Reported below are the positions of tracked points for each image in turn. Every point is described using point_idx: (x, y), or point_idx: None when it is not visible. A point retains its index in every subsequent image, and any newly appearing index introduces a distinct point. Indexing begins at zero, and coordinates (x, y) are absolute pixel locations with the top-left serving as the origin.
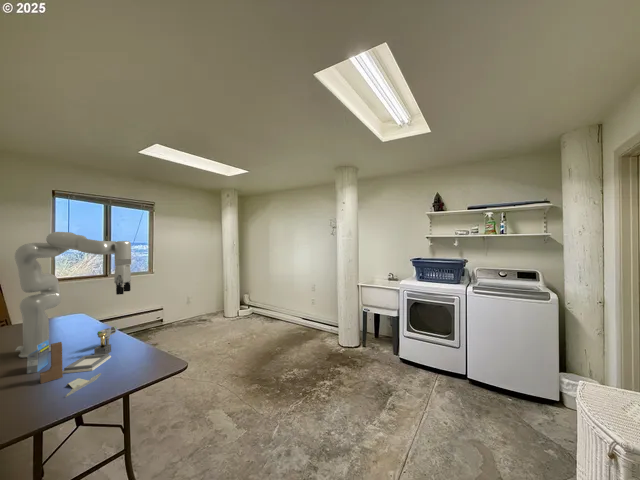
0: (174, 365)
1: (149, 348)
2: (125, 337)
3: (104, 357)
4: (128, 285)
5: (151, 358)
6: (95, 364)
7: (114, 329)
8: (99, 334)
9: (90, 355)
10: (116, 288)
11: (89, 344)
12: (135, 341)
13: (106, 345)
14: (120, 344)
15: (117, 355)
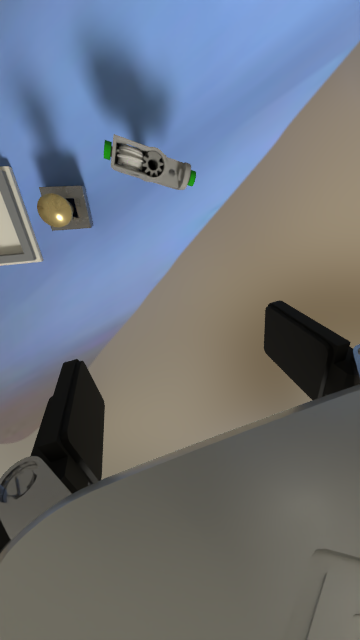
0: (12, 431)
1: (113, 330)
2: (228, 187)
3: (5, 262)
4: (308, 386)
5: (45, 371)
6: None
7: (179, 185)
8: (39, 203)
9: (9, 195)
10: (45, 430)
11: (181, 50)
12: (177, 253)
13: (78, 216)
14: (158, 215)
15: (60, 270)
